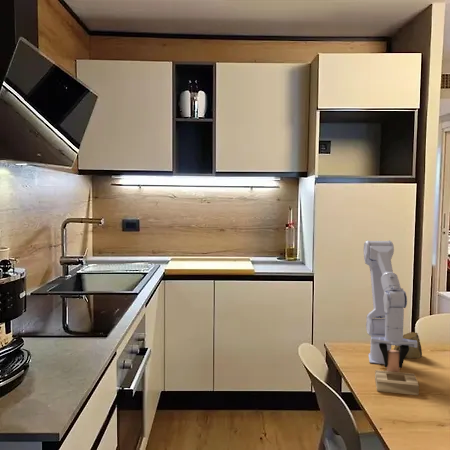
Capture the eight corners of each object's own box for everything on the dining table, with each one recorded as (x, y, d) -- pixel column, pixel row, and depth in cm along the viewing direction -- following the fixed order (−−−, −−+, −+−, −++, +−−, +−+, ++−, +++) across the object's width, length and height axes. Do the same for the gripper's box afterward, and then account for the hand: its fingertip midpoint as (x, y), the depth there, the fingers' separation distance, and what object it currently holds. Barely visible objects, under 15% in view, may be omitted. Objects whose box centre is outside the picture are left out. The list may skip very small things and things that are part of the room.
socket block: (375, 379, 157) (375, 370, 156) (413, 382, 154) (414, 373, 154) (377, 391, 147) (377, 381, 147) (418, 395, 144) (418, 385, 144)
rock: (387, 352, 177) (416, 353, 171) (389, 330, 181) (417, 331, 176) (396, 363, 184) (423, 364, 178) (397, 342, 188) (424, 343, 183)
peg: (386, 372, 162) (386, 349, 162) (398, 373, 161) (399, 350, 161) (387, 376, 159) (387, 353, 158) (399, 377, 158) (400, 354, 157)
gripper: (372, 328, 157) (371, 368, 158) (419, 331, 153) (417, 372, 154) (371, 322, 164) (370, 361, 165) (416, 325, 160) (414, 365, 161)
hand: (393, 366), depth 160 cm, fingers closed on peg, 4 cm apart
